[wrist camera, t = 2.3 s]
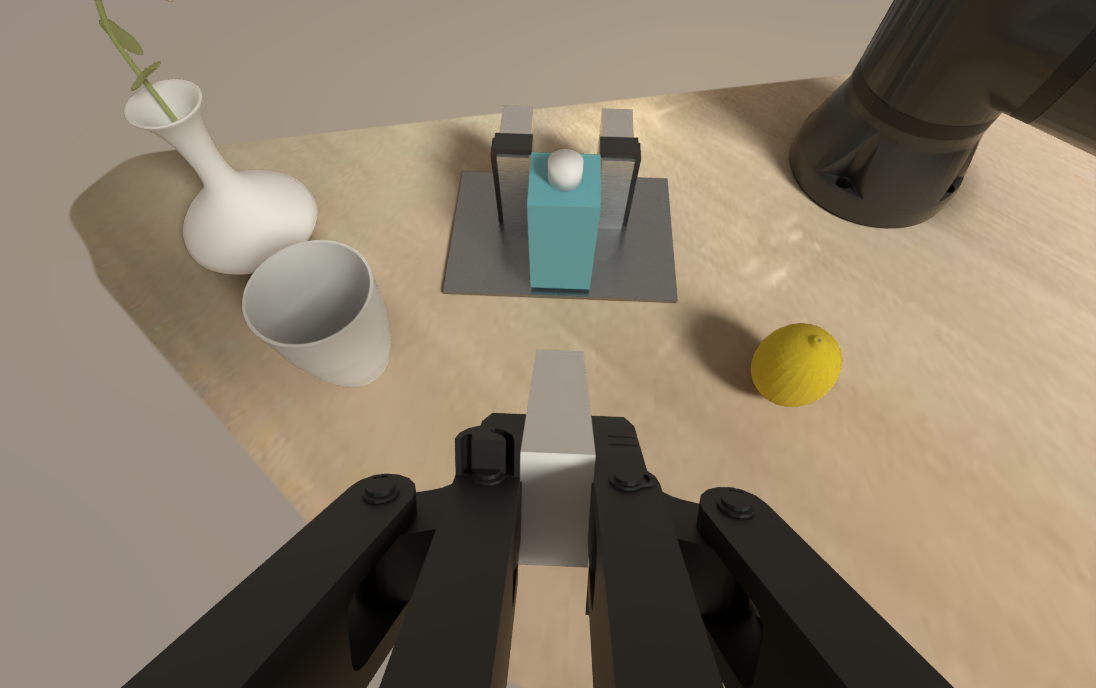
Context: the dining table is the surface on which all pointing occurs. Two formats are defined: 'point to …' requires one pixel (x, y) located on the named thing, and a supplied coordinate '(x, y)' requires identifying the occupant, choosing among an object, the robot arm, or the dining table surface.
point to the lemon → (796, 365)
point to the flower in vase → (217, 177)
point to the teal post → (563, 218)
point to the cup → (321, 312)
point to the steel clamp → (623, 231)
